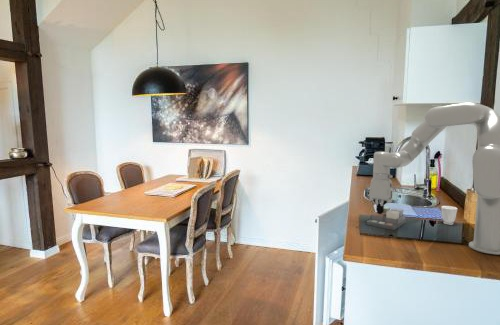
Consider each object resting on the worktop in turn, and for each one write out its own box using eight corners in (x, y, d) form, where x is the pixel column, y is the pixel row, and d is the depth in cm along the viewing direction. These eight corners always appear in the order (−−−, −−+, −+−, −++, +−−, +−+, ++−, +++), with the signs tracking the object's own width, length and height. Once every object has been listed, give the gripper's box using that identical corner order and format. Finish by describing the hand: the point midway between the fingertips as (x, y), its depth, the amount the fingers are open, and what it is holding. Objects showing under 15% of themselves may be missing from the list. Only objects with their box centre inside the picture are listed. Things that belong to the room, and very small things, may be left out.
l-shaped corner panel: (372, 205, 196) (372, 193, 195) (376, 202, 206) (376, 190, 205) (393, 208, 190) (394, 196, 189) (396, 204, 200) (397, 192, 199)
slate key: (403, 215, 161) (403, 209, 160) (400, 217, 157) (400, 211, 157) (393, 213, 164) (393, 208, 163) (390, 215, 160) (390, 209, 160)
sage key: (389, 213, 165) (390, 207, 165) (386, 214, 161) (386, 209, 161) (380, 211, 168) (380, 206, 168) (377, 213, 165) (377, 207, 164)
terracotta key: (385, 219, 161) (385, 213, 160) (382, 221, 157) (382, 215, 157) (376, 217, 164) (376, 211, 163) (372, 219, 160) (373, 213, 160)
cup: (439, 224, 158) (440, 208, 157) (440, 219, 166) (441, 203, 166) (456, 226, 154) (457, 209, 153) (456, 221, 163) (457, 205, 162)
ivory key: (399, 217, 156) (399, 211, 156) (396, 219, 153) (396, 213, 152) (389, 216, 159) (389, 210, 159) (386, 218, 156) (386, 212, 156)
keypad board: (405, 222, 161) (405, 214, 161) (394, 230, 148) (394, 222, 148) (379, 217, 170) (379, 210, 169) (366, 224, 157) (366, 216, 157)
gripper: (399, 177, 156) (398, 214, 158) (369, 174, 166) (368, 209, 168) (394, 178, 150) (393, 217, 152) (363, 176, 160) (362, 212, 162)
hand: (379, 212), depth 160 cm, fingers closed
